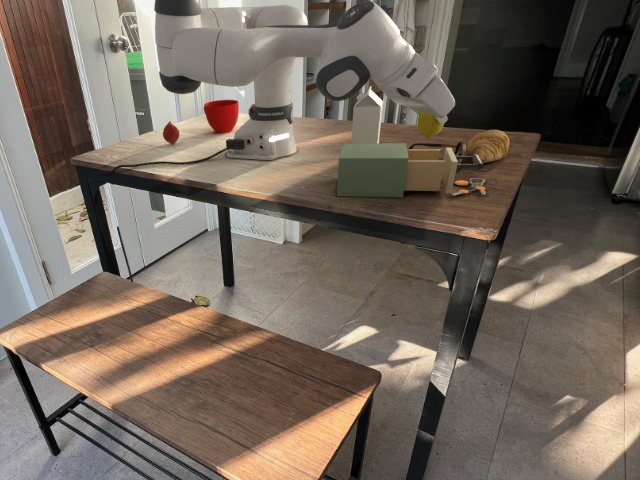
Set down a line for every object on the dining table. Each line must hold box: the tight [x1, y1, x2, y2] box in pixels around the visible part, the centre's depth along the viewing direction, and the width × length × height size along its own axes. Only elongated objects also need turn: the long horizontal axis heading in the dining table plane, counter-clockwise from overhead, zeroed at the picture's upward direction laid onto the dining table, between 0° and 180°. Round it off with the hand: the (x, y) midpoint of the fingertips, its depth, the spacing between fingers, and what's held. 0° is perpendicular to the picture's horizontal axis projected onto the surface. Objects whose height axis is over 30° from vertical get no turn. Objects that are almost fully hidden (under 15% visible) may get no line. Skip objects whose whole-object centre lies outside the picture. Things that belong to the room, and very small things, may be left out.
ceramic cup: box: [203, 99, 240, 134], centre depth 167 cm, size 13×17×10 cm
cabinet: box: [336, 142, 408, 198], centre depth 105 cm, size 15×12×9 cm
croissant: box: [467, 129, 510, 164], centre depth 120 cm, size 21×10×8 cm, turn 143°
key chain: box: [451, 177, 487, 197], centre depth 102 cm, size 13×7×1 cm, turn 151°
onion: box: [162, 121, 180, 146], centre depth 155 cm, size 6×6×8 cm
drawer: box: [404, 148, 484, 195], centre depth 102 cm, size 20×11×7 cm, turn 75°
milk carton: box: [350, 85, 384, 144], centre depth 121 cm, size 7×7×19 cm
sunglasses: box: [407, 140, 467, 172], centre depth 118 cm, size 14×15×5 cm
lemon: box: [416, 112, 445, 140], centre depth 96 cm, size 6×6×8 cm
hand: (434, 118), depth 96 cm, fingers closed on lemon, 5 cm apart
